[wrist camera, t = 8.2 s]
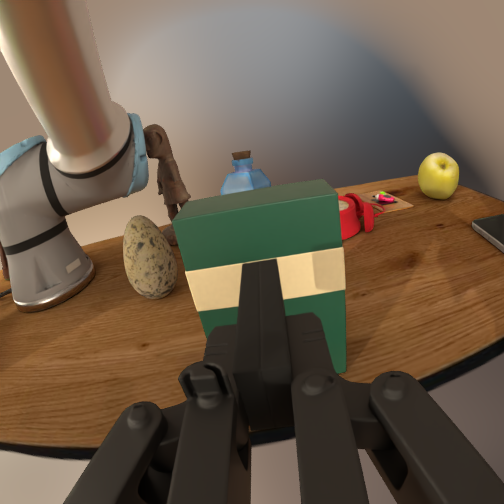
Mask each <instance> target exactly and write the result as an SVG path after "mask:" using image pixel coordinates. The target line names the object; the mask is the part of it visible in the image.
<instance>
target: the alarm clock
mask: <svg viewBox="0 0 504 504" xmlns="http://www.w3.org/2000/svg"><path fill="white" fill-rule="evenodd" d="M338 200H339V210H340V221H341V233H342V240H344V239H347V238H349V237H351V236H354V235H355V234H357V233H358V232H359V231H360V228H361V224H360V221H359V220H358V219H359V218H361V217H362V215H364V226H365V232H370V231H371V230H372V229H373V226H374V217H378V215H380V214H383V213H384V212H385V208H384V207H382V206H381V205H378V204H374V203H368V202H362V200H361V198H360V197H359V196H358V195H356V194H354V193H349V194H346V195H345V196H338ZM372 205H376V206H379V207H381V208H382V209H383V210H384V211H382V212H380V213H376V214H374V212H373V208H372Z"/></svg>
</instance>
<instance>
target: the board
mask: <svg viewBox="0 0 504 504" xmlns="http://www.w3.org/2000/svg"><path fill="white" fill-rule="evenodd" d="M358 196H359V197H360V198H361V200H362V201H363V202H368V203H374V204H378V205H381V206H382V207H384V208H385V212H384V213H387V212H392V211H397V210H402V209H407V208H411V207H414V205H411V204H409V203H407V202H405V201H403V200H401V199H399V198H397V197H394V196H392V195H390V194H388V193H386V192H383V191H375V192H370V193H364V194H359V195H358ZM372 207H374V208H376V209H377V210H379V211H381V212H382V211H384V210H383V209H382V208H381V207H379V206H376V205H372Z"/></svg>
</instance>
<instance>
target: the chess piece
mask: <svg viewBox="0 0 504 504" xmlns="http://www.w3.org/2000/svg"><path fill="white" fill-rule="evenodd" d="M0 256H1V262H2V266H3V268H2V269H3V275H4V278H5V280H9V279H10V275H9V267H8V260H7V257H6V254H5V251H4V249H3V246H2V244H1V241H0Z"/></svg>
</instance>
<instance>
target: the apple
mask: <svg viewBox="0 0 504 504" xmlns="http://www.w3.org/2000/svg"><path fill="white" fill-rule="evenodd" d="M458 179H459V168H458V165H457V163H456V162H455V161H454V160H453V159H452V158H451V157H449V156H447V155H446V154H444V153H434V154H431V155H429V156H428V157H427V158H425V160H424V161H423V162H422V164H421V166H420V168H419V173H418V183H419V186H420V188H421V190H422V192H423V193H424V194H425V195H427V196H428V197H431V198H434V199H447V198H449V197H450V196H451V195H452V194H453V192H454V191H455V189H456V187H457V184H458Z"/></svg>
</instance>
